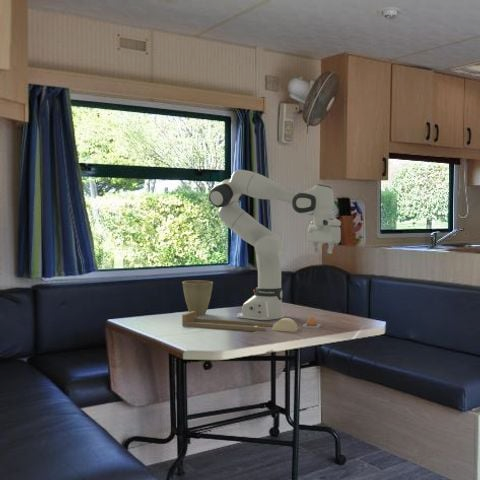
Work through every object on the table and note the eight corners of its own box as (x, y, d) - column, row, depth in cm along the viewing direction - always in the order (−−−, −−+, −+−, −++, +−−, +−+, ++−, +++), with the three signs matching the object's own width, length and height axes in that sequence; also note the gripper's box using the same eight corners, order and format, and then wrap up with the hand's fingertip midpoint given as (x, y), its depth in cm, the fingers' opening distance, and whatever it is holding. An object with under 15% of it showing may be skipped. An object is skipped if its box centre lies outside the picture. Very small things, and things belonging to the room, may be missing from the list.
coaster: (301, 329, 252) (301, 325, 252) (305, 326, 258) (305, 322, 258) (317, 330, 249) (317, 326, 249) (321, 327, 256) (321, 323, 256)
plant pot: (178, 316, 282) (178, 283, 282) (187, 311, 297) (187, 279, 296) (208, 317, 279) (208, 284, 278) (216, 312, 294) (216, 280, 293)
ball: (306, 327, 253) (306, 317, 253) (308, 325, 257) (308, 316, 256) (315, 327, 251) (315, 318, 251) (317, 326, 255) (317, 317, 255)
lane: (182, 337, 258) (182, 314, 258) (193, 332, 269) (192, 310, 268) (293, 346, 241) (293, 322, 241) (299, 341, 251) (300, 317, 251)
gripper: (303, 221, 267) (303, 251, 268) (331, 221, 249) (331, 254, 250) (315, 221, 270) (315, 251, 271) (343, 221, 252) (343, 254, 253)
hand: (323, 253), depth 260 cm, fingers open, 8 cm apart
